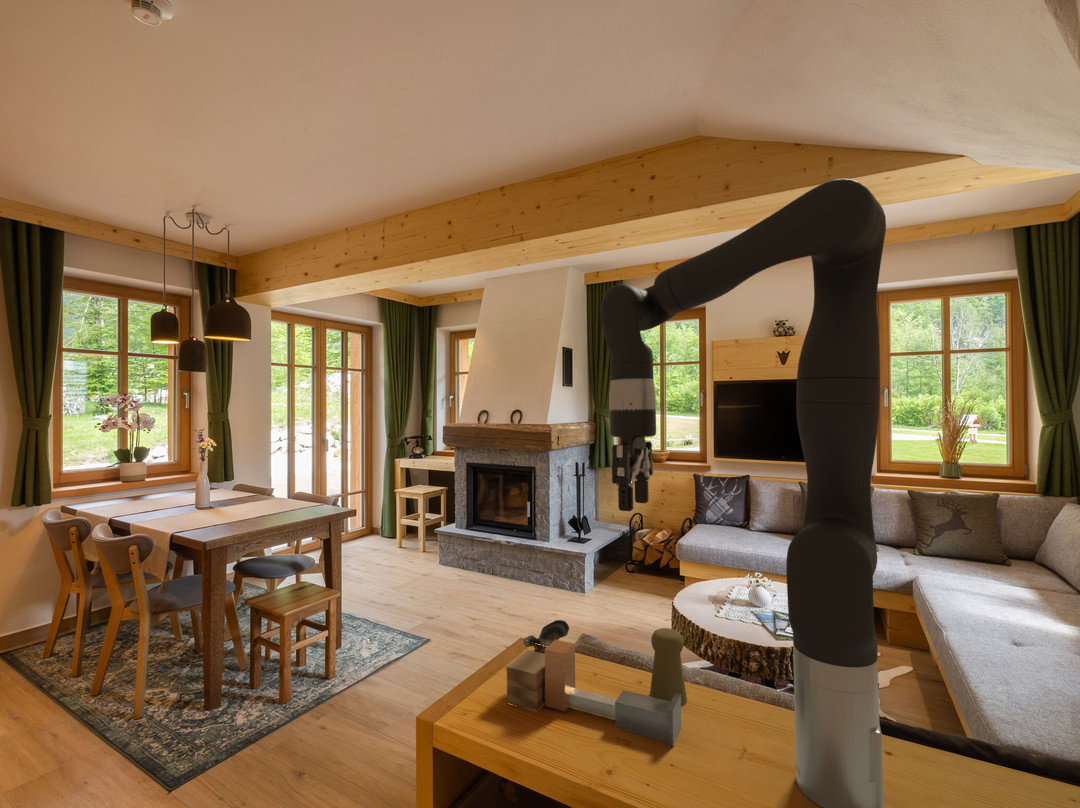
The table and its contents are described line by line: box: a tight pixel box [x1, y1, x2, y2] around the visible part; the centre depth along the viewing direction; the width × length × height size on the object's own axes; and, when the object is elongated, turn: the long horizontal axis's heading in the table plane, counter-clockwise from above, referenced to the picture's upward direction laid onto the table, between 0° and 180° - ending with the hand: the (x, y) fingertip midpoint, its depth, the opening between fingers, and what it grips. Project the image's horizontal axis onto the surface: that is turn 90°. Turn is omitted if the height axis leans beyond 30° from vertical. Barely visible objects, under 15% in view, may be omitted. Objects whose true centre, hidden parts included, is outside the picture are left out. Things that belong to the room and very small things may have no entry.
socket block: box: [506, 649, 545, 713], centre depth 88 cm, size 6×7×6 cm
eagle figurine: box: [522, 619, 570, 654], centre depth 103 cm, size 8×7×9 cm
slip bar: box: [542, 639, 617, 720], centre depth 84 cm, size 18×4×9 cm, turn 62°
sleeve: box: [614, 689, 682, 748], centre depth 78 cm, size 9×5×5 cm, turn 62°
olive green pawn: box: [649, 627, 688, 708], centre depth 87 cm, size 6×6×11 cm
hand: (634, 506), depth 86 cm, fingers open, 8 cm apart
